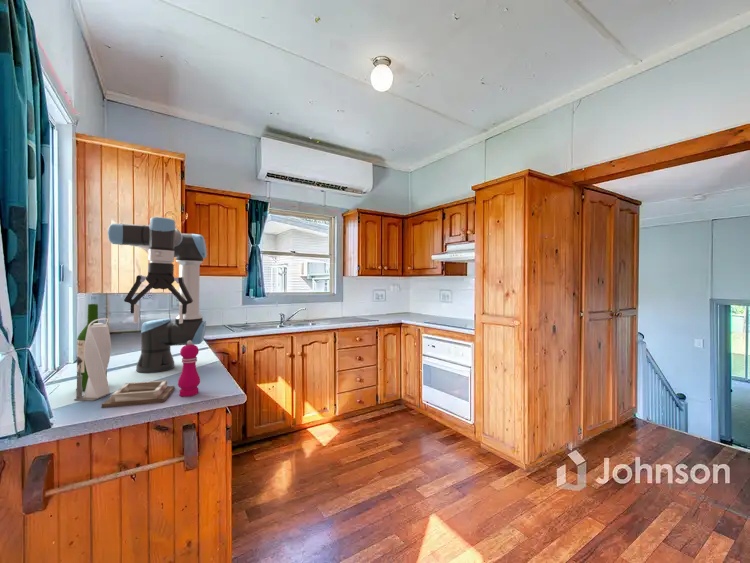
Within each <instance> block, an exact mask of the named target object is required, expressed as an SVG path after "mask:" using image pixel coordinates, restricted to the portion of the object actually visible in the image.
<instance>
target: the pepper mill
mask: <svg viewBox="0 0 750 563" xmlns="http://www.w3.org/2000/svg"><path fill="white" fill-rule="evenodd" d="M187 344H188V345H182V347H181V349H180V351H179V352H180V353H179V354H180V357H182V358H181V363H182V371H181V373H180V376H179V378H178V381H177V386H178V387H179V388H180V390H179V392H178V394H179V397H183V398H185V397H193V396H196V395H198V394H199V390H200V389H199V387H198V386H199V385H200V384H201V377H200V375H199V373H198V371H197V367H196V366H197V365H196V363H197V361H198V357H197V356H198V354H199V353H200V350H199V348H198V346H197V344H196V345H192V341H191V340H189V341H188V342H187Z"/></svg>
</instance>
